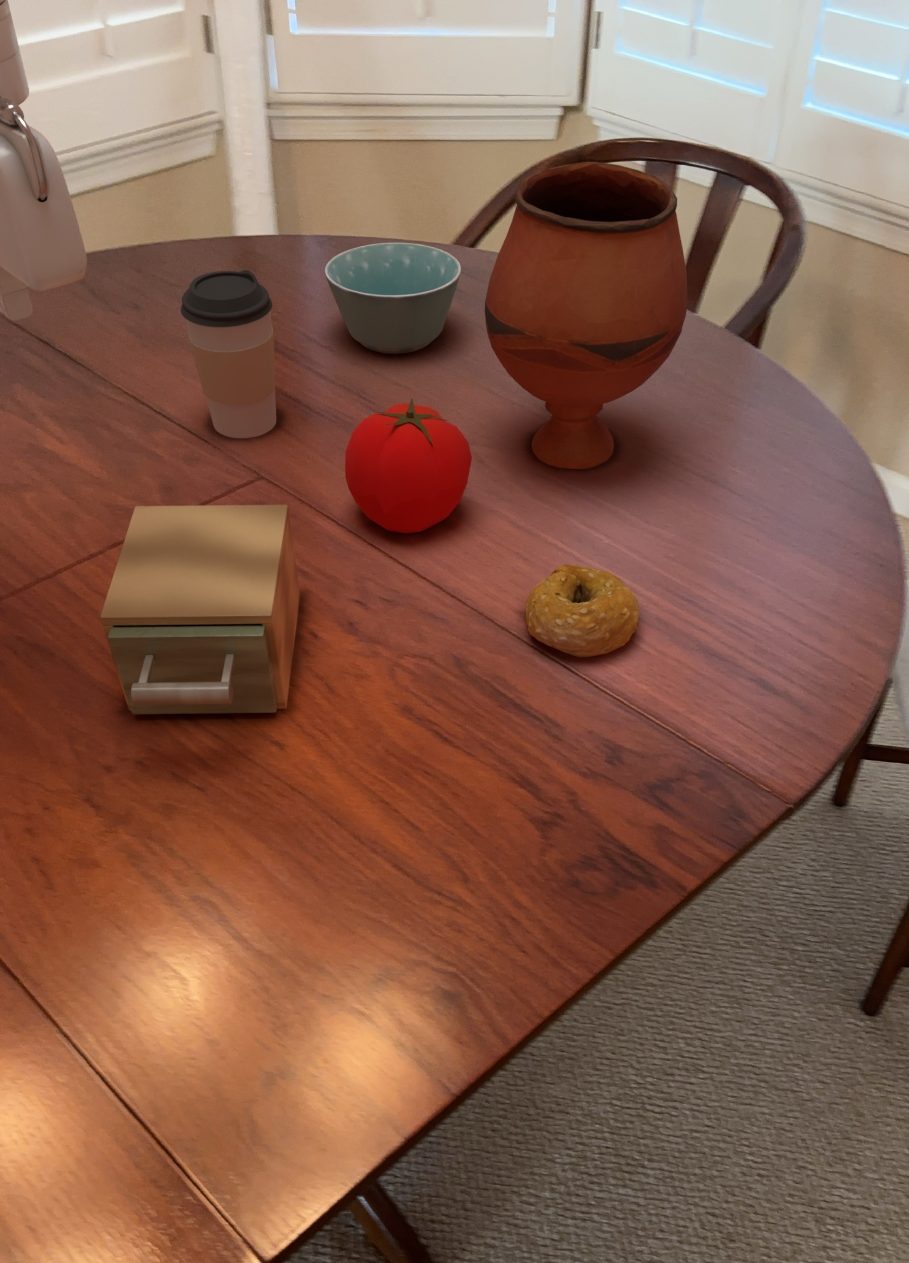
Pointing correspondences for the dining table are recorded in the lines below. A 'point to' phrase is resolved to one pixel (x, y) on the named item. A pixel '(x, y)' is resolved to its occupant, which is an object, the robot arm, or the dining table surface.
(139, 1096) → the dining table surface
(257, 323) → the coffee cup
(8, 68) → the robot arm
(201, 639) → the tray drawer
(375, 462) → the tomato
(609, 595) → the bagel
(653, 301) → the goblet
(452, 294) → the bowl
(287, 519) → the cabinet
